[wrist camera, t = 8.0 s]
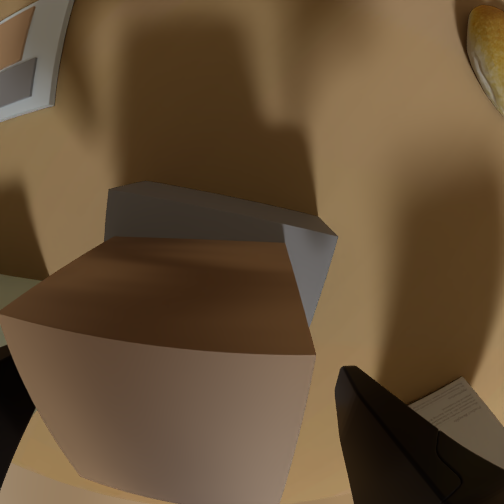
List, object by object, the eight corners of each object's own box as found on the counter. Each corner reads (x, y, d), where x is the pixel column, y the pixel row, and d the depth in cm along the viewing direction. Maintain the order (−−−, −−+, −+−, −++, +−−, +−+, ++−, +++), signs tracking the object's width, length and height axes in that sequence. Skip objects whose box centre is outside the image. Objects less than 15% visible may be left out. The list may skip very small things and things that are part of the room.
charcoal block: (135, 325, 16) (106, 367, 12) (148, 180, 13) (108, 189, 9) (275, 356, 16) (278, 407, 12) (316, 215, 13) (338, 236, 10)
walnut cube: (134, 370, 12) (80, 476, 6) (114, 236, 10) (-4, 312, 4) (272, 383, 12) (277, 511, 6) (285, 242, 10) (316, 355, 4)
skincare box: (373, 455, 19) (410, 602, 4) (365, 416, 17) (418, 606, 3) (461, 414, 17) (526, 540, 3) (468, 368, 16) (564, 515, 2)
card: (-36, 136, 12) (-43, 137, 11) (-19, 38, 9) (-25, 36, 9) (54, 105, 12) (46, 104, 11) (78, -13, 9) (72, -17, 9)
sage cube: (17, 345, 17) (-27, 388, 11) (-4, 272, 15) (-62, 307, 9) (73, 362, 16) (29, 419, 11) (52, 281, 15) (-13, 329, 9)
